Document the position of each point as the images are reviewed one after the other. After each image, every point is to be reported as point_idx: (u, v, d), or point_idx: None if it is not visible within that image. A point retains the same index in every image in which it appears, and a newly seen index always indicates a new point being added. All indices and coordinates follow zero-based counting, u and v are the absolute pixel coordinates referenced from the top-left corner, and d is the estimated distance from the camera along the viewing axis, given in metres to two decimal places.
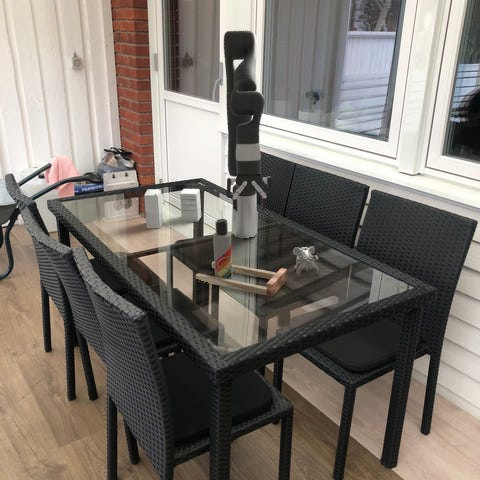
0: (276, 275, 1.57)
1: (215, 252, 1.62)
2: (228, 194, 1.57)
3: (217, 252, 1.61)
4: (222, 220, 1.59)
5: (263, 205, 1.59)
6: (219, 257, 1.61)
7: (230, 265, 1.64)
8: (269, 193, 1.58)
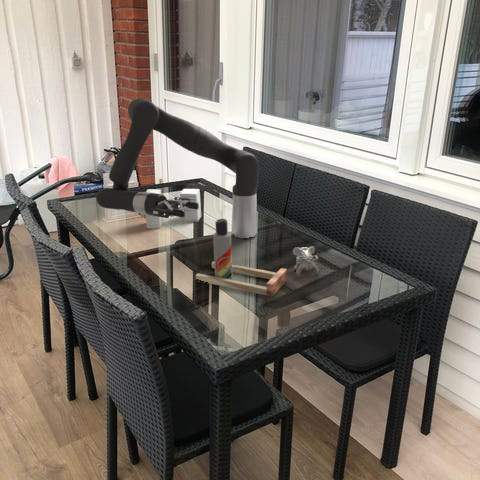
0: (276, 275, 1.57)
1: (215, 252, 1.62)
2: None
3: (217, 252, 1.61)
4: (222, 220, 1.59)
5: None
6: (219, 257, 1.61)
7: (230, 265, 1.64)
8: None
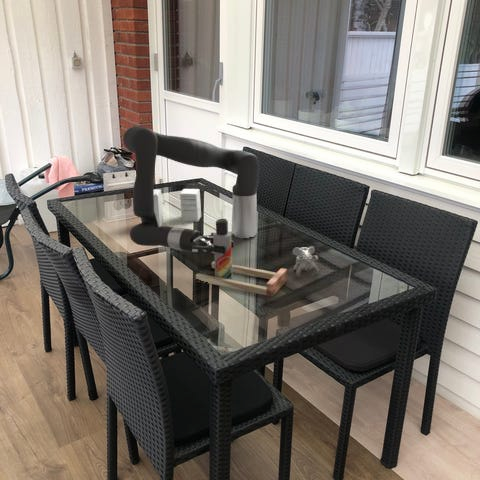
0: (276, 275, 1.57)
1: (215, 252, 1.62)
2: None
3: None
4: (222, 220, 1.59)
5: None
6: (219, 257, 1.61)
7: (230, 265, 1.64)
8: None
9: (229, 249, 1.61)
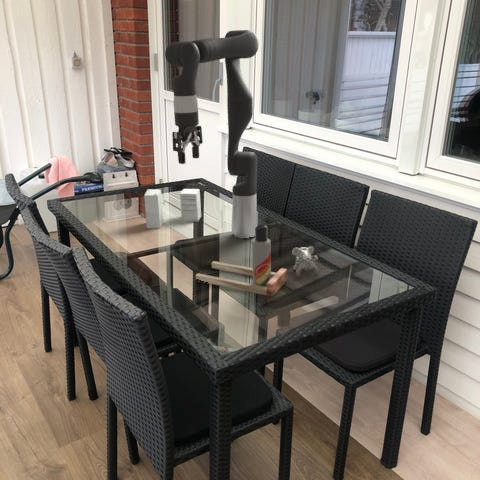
0: (276, 275, 1.57)
1: (254, 259, 1.56)
2: None
3: (256, 259, 1.55)
4: (262, 226, 1.53)
5: None
6: (258, 264, 1.55)
7: (269, 272, 1.58)
8: None
9: (269, 256, 1.55)
